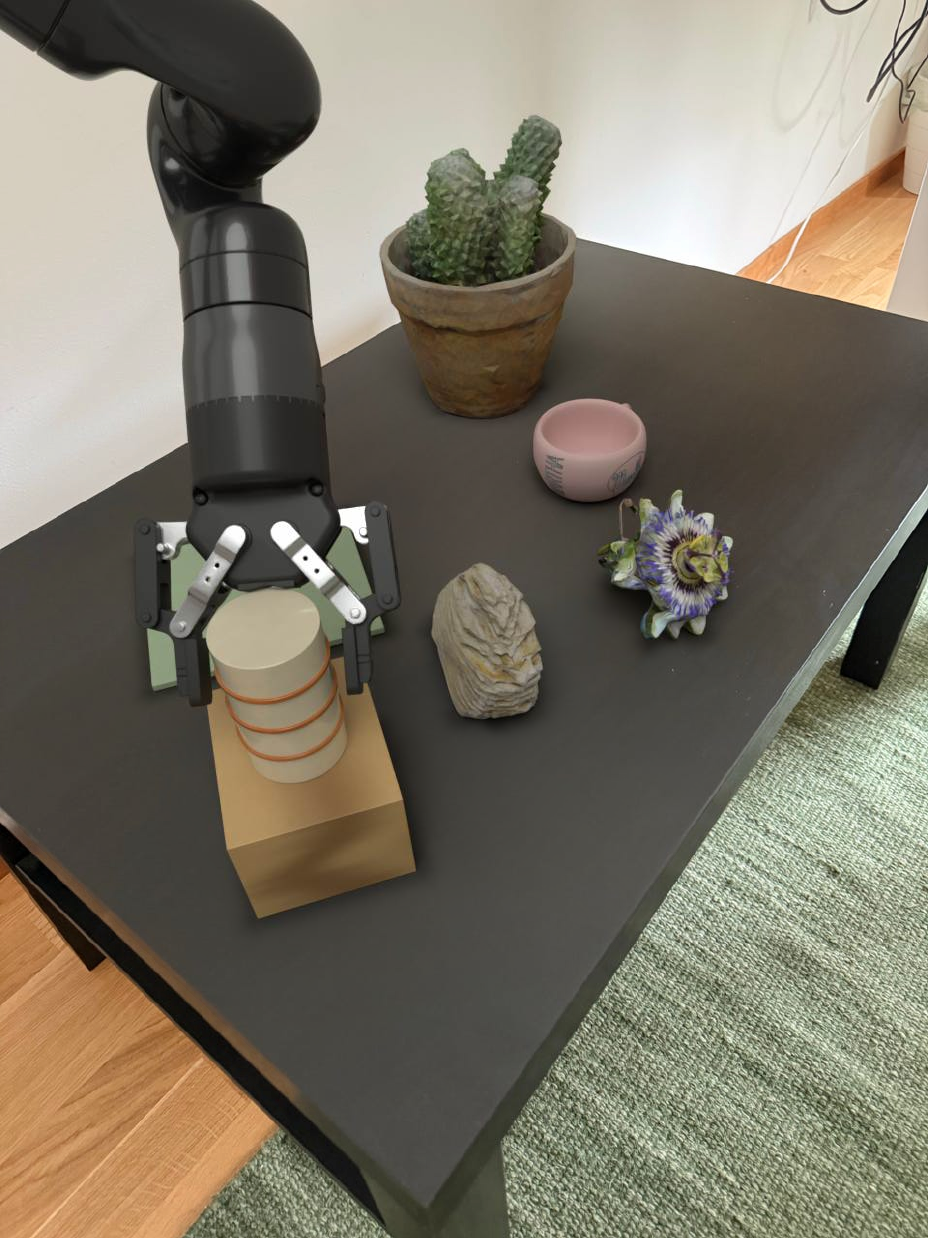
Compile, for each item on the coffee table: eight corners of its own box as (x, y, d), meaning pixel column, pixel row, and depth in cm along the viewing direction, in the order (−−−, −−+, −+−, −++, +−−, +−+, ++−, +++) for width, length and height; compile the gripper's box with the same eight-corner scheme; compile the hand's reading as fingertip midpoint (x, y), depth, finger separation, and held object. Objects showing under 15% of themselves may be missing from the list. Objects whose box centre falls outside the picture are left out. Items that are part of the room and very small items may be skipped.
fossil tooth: (492, 615, 75) (563, 743, 64) (417, 633, 74) (477, 766, 63) (488, 493, 68) (568, 613, 57) (405, 511, 67) (471, 637, 56)
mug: (604, 529, 80) (607, 473, 76) (511, 490, 85) (510, 435, 81) (673, 461, 87) (680, 406, 82) (584, 428, 91) (586, 374, 87)
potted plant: (517, 459, 88) (511, 189, 71) (360, 411, 96) (319, 155, 78) (601, 369, 99) (615, 114, 81) (454, 332, 106) (437, 91, 89)
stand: (258, 919, 56) (226, 849, 51) (234, 766, 65) (205, 691, 59) (416, 871, 58) (403, 799, 52) (373, 728, 66) (358, 652, 61)
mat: (153, 691, 70) (151, 686, 70) (142, 559, 81) (140, 554, 81) (385, 632, 73) (384, 627, 73) (343, 513, 84) (343, 507, 84)
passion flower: (684, 674, 75) (681, 655, 64) (570, 608, 78) (548, 579, 67) (756, 555, 75) (766, 516, 64) (639, 494, 79) (629, 446, 67)
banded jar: (253, 799, 53) (209, 684, 46) (239, 717, 57) (197, 601, 50) (360, 768, 54) (333, 652, 47) (339, 691, 58) (311, 573, 51)
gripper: (100, 401, 47) (125, 717, 47) (377, 379, 47) (402, 695, 47) (150, 430, 55) (172, 703, 55) (390, 411, 55) (411, 685, 55)
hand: (278, 699), depth 51 cm, fingers open, 8 cm apart
